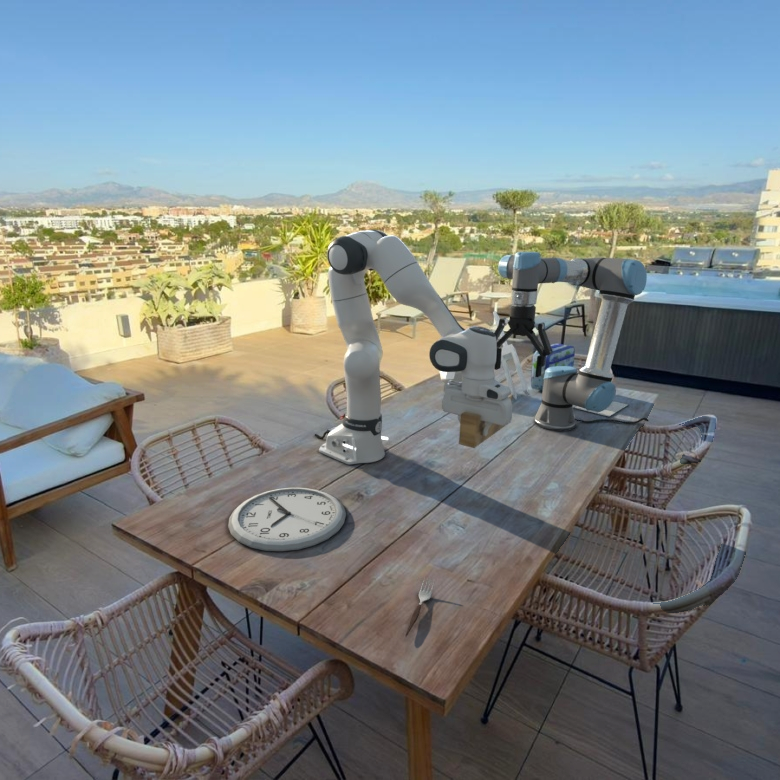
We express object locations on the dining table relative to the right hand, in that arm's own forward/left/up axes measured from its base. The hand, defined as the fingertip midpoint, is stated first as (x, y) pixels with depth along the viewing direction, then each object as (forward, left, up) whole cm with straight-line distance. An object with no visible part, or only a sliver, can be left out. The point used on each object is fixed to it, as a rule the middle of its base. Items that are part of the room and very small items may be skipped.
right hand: (517, 372), depth 164 cm
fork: (+25, +76, -30) cm, 85 cm away
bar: (+9, +14, -15) cm, 23 cm away
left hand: (+13, +22, -12) cm, 28 cm away
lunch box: (-28, -86, -30) cm, 96 cm away
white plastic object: (+7, -73, -30) cm, 79 cm away
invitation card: (-45, -61, -30) cm, 82 cm away
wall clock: (+61, +46, -30) cm, 82 cm away
